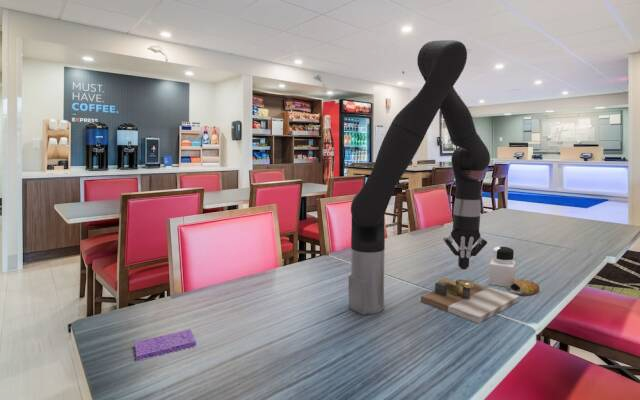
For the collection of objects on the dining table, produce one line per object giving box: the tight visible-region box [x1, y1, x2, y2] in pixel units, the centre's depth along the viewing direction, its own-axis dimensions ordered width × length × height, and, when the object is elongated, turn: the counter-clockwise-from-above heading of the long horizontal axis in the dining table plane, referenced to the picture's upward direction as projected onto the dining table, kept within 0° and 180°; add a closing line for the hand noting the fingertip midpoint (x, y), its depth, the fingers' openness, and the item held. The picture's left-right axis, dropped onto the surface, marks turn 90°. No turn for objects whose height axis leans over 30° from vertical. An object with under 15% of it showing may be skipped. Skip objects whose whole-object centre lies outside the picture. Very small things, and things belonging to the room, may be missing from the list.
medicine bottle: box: [487, 246, 517, 288], centre depth 123 cm, size 7×7×12 cm
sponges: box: [134, 328, 197, 361], centre depth 86 cm, size 7×13×2 cm, turn 118°
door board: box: [420, 281, 520, 324], centre depth 108 cm, size 22×18×5 cm
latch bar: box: [438, 277, 475, 296], centre depth 110 cm, size 11×4×4 cm, turn 30°
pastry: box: [506, 279, 540, 297], centre depth 116 cm, size 9×7×4 cm
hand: (463, 268), depth 115 cm, fingers closed
